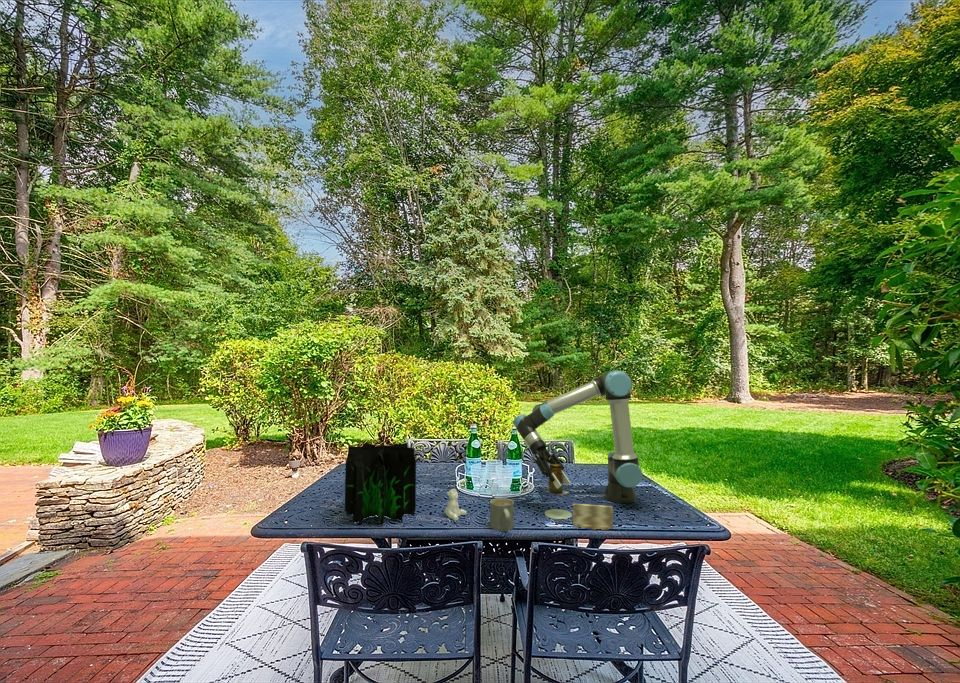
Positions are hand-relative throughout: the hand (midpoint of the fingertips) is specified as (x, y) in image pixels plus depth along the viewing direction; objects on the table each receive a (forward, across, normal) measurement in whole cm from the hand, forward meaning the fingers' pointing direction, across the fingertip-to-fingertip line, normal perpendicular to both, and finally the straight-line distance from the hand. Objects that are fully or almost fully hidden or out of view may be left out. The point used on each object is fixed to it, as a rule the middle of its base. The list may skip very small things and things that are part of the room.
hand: (563, 485), depth 193 cm
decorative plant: (-31, +58, -51) cm, 83 cm away
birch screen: (+21, +1, +1) cm, 21 cm away
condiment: (0, 0, -5) cm, 5 cm away
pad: (+7, 0, -12) cm, 14 cm away
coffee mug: (+3, +29, -17) cm, 34 cm away
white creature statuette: (-14, +36, -34) cm, 51 cm away
